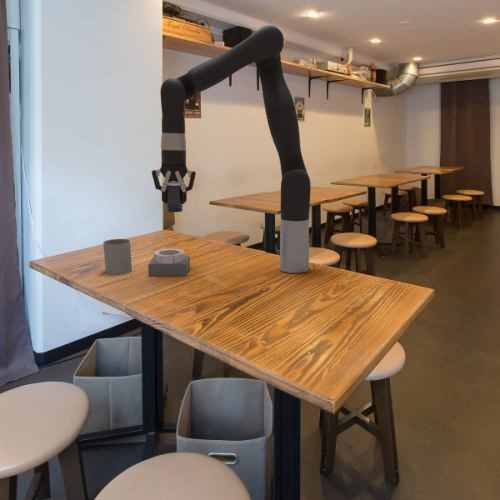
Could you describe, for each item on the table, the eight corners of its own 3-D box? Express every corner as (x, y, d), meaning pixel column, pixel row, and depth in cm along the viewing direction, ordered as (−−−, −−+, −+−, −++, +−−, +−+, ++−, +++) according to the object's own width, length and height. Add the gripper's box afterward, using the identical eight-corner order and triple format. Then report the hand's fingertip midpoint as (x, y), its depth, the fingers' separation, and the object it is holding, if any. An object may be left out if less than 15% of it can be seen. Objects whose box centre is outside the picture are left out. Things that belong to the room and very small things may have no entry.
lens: (183, 209, 140) (183, 181, 138) (181, 212, 135) (181, 183, 133) (167, 209, 140) (167, 181, 138) (165, 211, 135) (164, 183, 133)
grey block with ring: (189, 266, 147) (189, 248, 146) (186, 275, 138) (186, 256, 136) (154, 267, 147) (153, 248, 145) (148, 276, 137) (147, 256, 136)
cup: (124, 275, 138) (122, 245, 135) (100, 274, 139) (98, 244, 137) (136, 268, 146) (134, 239, 143) (113, 266, 147) (111, 238, 145)
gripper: (198, 149, 137) (198, 202, 141) (152, 147, 136) (153, 201, 140) (195, 149, 129) (195, 206, 134) (147, 148, 129) (149, 204, 133)
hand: (174, 203), depth 137 cm, fingers closed on lens, 5 cm apart
